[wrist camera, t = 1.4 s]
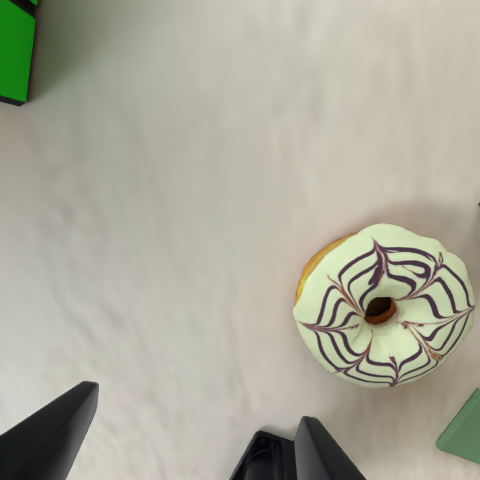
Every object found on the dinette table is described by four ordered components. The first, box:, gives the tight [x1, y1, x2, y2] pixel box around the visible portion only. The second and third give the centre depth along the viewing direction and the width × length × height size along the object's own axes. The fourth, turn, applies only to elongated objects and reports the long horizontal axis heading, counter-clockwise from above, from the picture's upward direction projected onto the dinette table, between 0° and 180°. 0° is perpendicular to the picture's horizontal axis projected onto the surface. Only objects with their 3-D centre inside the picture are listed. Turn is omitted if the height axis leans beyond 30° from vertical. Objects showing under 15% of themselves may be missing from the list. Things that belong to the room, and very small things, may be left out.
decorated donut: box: [293, 223, 475, 388], centre depth 19 cm, size 10×11×4 cm
